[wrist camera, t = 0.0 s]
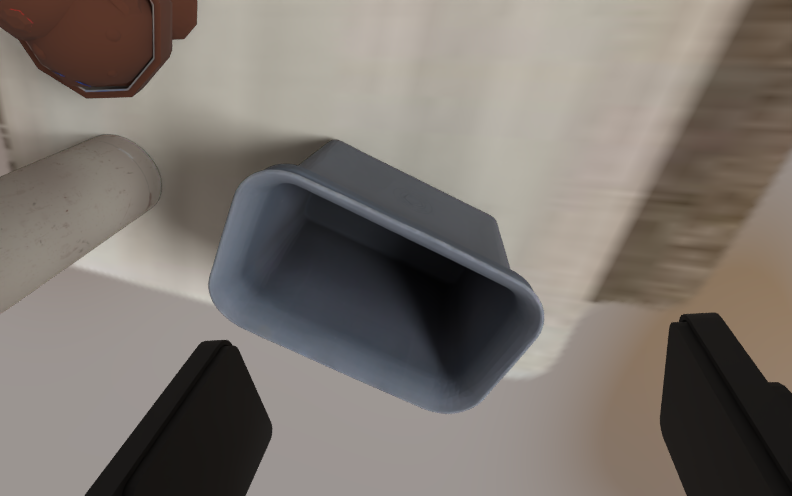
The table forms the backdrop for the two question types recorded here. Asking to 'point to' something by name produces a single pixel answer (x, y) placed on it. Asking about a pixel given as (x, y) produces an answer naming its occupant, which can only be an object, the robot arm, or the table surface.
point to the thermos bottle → (69, 209)
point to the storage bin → (375, 278)
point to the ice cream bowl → (99, 40)
